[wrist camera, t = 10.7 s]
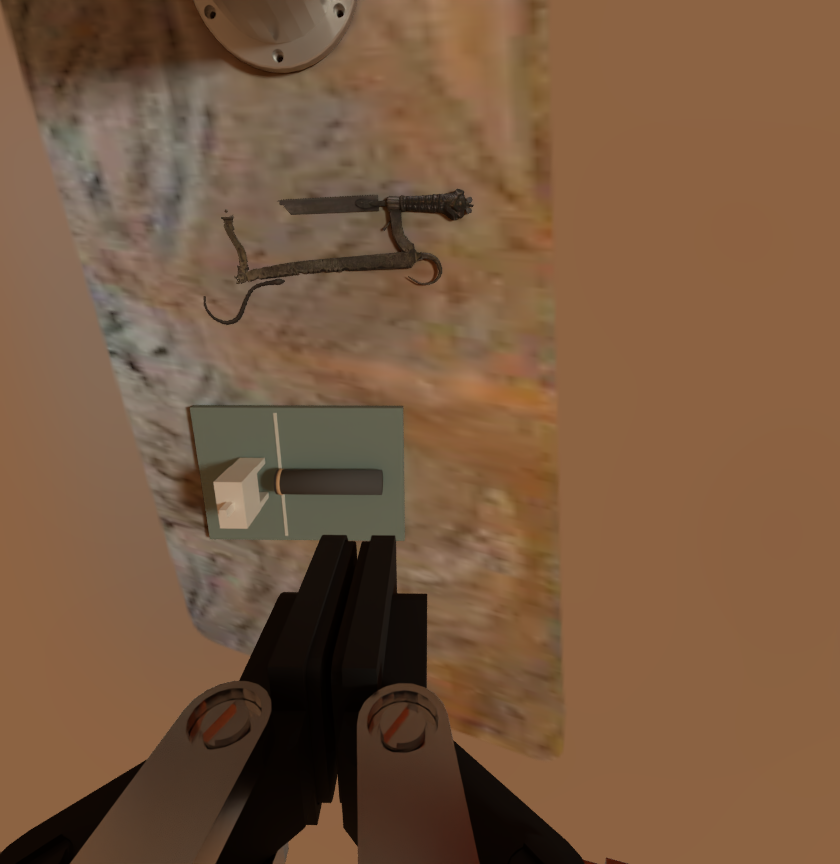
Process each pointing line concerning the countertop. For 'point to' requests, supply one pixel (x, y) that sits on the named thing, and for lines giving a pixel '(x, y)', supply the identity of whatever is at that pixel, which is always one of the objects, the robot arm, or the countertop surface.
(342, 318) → the countertop surface
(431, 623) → the countertop surface
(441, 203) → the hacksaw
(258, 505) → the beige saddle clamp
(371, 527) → the cutting mat
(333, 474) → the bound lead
